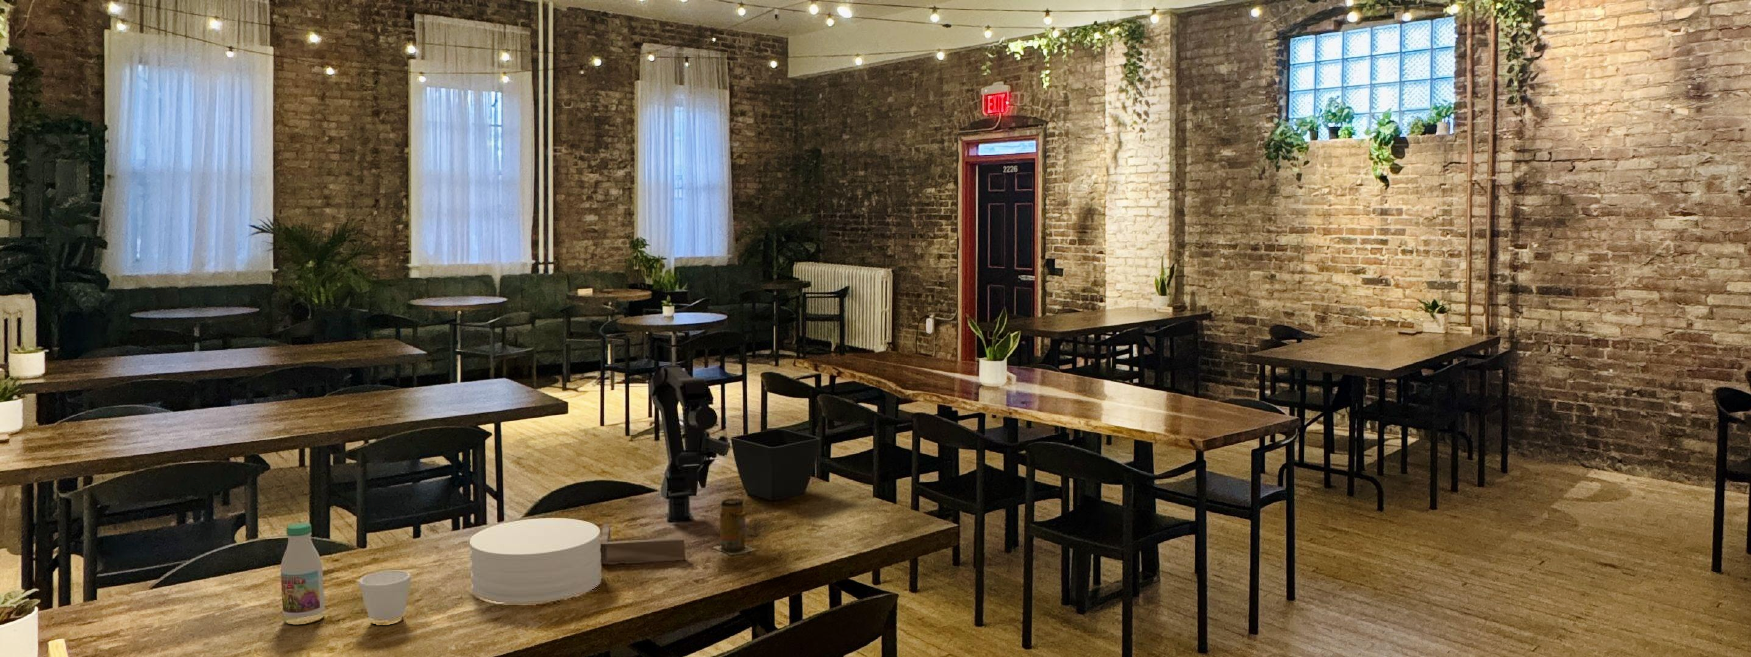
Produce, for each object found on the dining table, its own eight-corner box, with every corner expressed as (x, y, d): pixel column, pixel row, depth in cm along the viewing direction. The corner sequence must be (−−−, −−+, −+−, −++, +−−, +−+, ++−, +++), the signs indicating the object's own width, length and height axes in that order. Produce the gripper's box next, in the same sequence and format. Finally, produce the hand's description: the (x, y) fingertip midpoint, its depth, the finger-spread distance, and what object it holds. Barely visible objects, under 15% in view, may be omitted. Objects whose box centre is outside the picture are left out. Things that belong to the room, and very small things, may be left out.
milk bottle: (292, 613, 247) (286, 520, 245) (331, 612, 248) (325, 519, 245) (277, 627, 239) (271, 531, 237) (316, 625, 240) (310, 530, 238)
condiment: (737, 542, 296) (736, 495, 294) (756, 550, 289) (755, 502, 288) (712, 548, 291) (711, 500, 290) (731, 556, 285) (730, 507, 283)
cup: (362, 633, 236) (360, 588, 235) (358, 617, 245) (356, 574, 243) (416, 624, 240) (413, 580, 239) (410, 609, 249) (408, 566, 248)
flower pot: (822, 493, 343) (821, 436, 341) (773, 506, 329) (772, 447, 327) (778, 482, 356) (778, 427, 354) (729, 494, 342) (728, 437, 340)
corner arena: (604, 543, 295) (603, 523, 295) (683, 538, 299) (682, 519, 298) (600, 564, 278) (600, 544, 278) (684, 560, 282) (683, 539, 281)
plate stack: (533, 559, 283) (531, 512, 282) (627, 575, 271) (625, 526, 270) (443, 594, 259) (441, 544, 257) (542, 614, 246) (540, 561, 245)
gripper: (718, 429, 290) (722, 492, 290) (733, 424, 309) (737, 483, 308) (673, 432, 291) (677, 495, 291) (692, 426, 310) (695, 486, 309)
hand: (699, 490), depth 300 cm, fingers open, 9 cm apart
